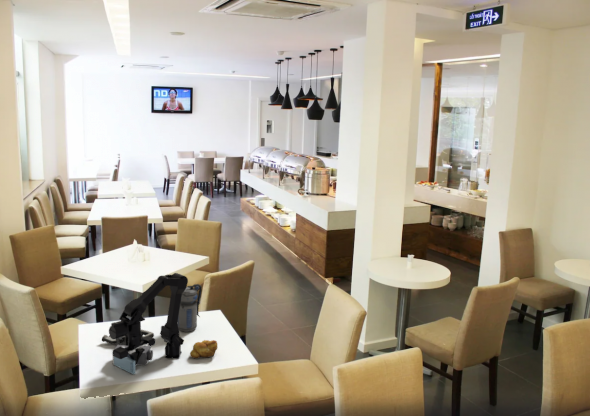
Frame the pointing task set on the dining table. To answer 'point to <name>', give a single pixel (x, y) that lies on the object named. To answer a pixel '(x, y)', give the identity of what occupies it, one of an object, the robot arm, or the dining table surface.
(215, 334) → the dining table surface
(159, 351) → the dining table surface
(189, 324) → the beverage bottle
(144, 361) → the grey block with knob
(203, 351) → the bread roll
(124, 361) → the side door
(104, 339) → the camcorder
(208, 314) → the dining table surface
